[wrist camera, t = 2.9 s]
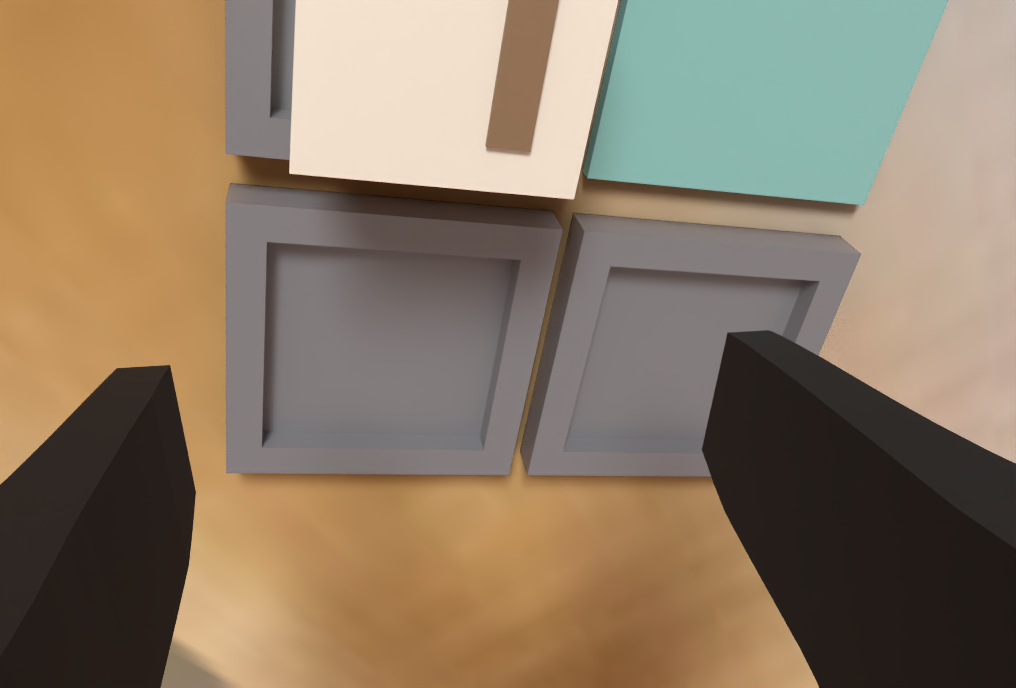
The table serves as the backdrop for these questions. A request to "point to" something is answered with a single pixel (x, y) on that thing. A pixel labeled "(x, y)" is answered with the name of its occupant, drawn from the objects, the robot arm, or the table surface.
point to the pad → (758, 94)
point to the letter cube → (448, 91)
